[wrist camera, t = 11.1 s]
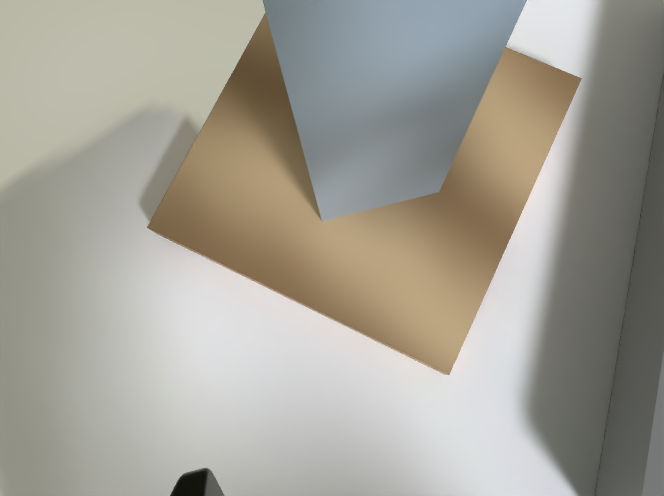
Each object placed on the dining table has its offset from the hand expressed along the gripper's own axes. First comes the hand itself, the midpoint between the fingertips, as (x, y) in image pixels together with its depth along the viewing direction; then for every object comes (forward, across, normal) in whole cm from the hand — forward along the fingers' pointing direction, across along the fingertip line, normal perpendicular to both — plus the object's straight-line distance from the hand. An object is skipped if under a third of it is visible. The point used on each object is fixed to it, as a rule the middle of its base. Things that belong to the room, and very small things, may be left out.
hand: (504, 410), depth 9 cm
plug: (+13, 0, +1) cm, 13 cm away
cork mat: (+13, 0, +2) cm, 14 cm away
